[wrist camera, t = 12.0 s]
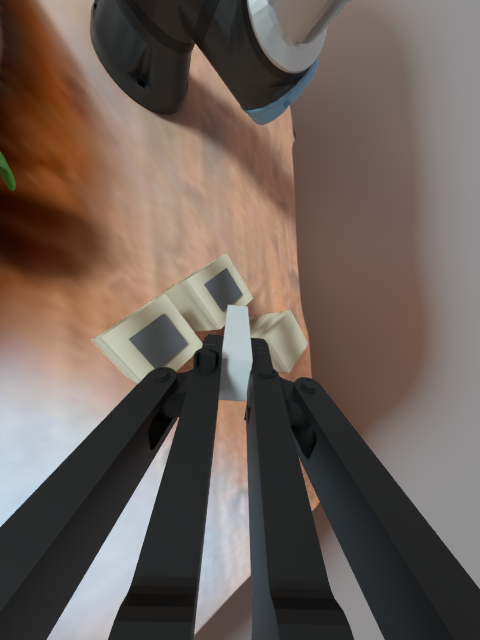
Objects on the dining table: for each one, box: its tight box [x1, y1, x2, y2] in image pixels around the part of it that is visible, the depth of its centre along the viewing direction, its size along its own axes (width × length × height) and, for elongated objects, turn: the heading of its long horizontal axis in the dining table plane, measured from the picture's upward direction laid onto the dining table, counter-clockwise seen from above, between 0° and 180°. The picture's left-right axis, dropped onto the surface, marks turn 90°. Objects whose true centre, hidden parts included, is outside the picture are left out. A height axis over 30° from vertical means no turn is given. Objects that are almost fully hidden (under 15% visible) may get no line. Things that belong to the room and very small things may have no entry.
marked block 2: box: [91, 294, 203, 384], centre depth 27 cm, size 7×7×14 cm
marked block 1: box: [151, 253, 253, 332], centre depth 32 cm, size 7×7×14 cm
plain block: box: [221, 311, 308, 373], centre depth 39 cm, size 7×7×14 cm
